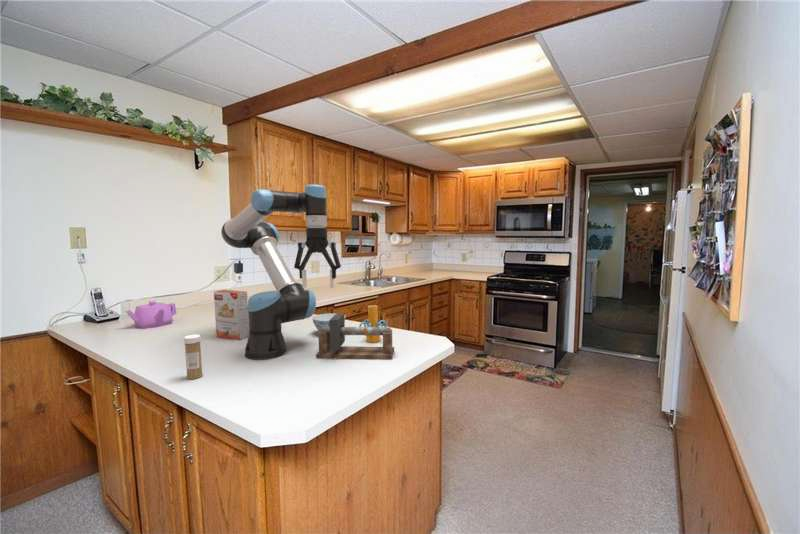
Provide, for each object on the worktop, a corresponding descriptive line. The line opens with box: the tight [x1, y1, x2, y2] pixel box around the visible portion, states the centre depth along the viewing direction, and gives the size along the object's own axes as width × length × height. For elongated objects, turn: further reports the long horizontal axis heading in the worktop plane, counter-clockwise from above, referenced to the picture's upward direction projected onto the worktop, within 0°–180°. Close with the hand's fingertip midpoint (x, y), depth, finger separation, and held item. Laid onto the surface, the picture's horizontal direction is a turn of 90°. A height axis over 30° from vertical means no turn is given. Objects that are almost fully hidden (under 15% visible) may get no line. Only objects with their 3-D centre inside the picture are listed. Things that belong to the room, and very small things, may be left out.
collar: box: [329, 313, 346, 350], centre depth 136 cm, size 3×11×11 cm, turn 176°
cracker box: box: [213, 289, 249, 341], centre depth 161 cm, size 14×6×21 cm, turn 68°
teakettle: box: [125, 300, 177, 330], centre depth 185 cm, size 17×17×12 cm
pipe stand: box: [315, 326, 395, 360], centre depth 136 cm, size 28×10×11 cm, turn 86°
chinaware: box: [312, 313, 347, 332], centre depth 166 cm, size 15×15×8 cm
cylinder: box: [358, 304, 388, 343], centre depth 154 cm, size 12×10×15 cm
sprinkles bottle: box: [183, 334, 203, 380], centre depth 115 cm, size 5×5×14 cm
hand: (318, 287), depth 135 cm, fingers open, 10 cm apart
